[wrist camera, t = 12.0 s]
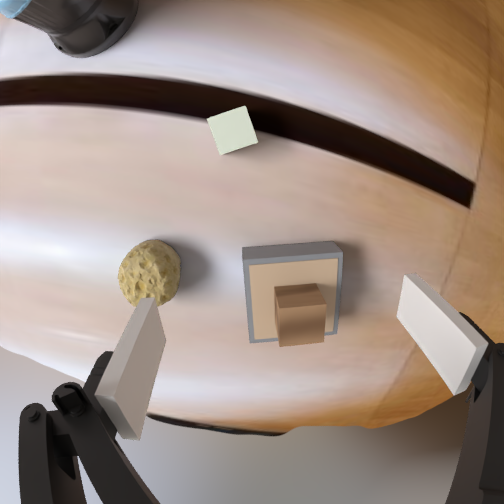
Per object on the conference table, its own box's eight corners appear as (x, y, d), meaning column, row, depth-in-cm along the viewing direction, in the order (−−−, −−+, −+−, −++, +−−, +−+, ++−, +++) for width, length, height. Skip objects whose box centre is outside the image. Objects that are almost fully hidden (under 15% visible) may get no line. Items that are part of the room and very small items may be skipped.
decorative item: (150, 230, 47) (99, 250, 39) (190, 238, 42) (133, 262, 34) (159, 282, 50) (114, 306, 43) (199, 296, 45) (149, 327, 37)
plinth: (242, 247, 45) (242, 260, 40) (332, 240, 45) (343, 252, 40) (248, 325, 49) (249, 344, 44) (329, 317, 50) (337, 334, 45)
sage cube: (210, 122, 38) (206, 118, 34) (244, 110, 38) (245, 105, 33) (222, 154, 40) (219, 155, 35) (256, 143, 40) (258, 142, 35)
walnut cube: (273, 286, 41) (279, 308, 36) (315, 283, 41) (326, 303, 36) (274, 322, 43) (279, 346, 38) (314, 318, 43) (323, 342, 38)
